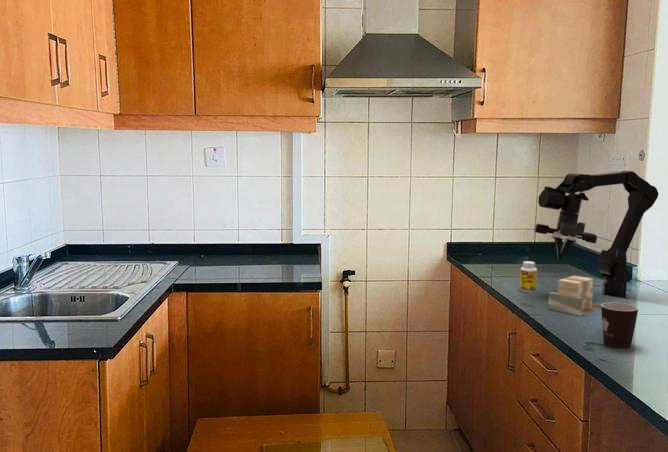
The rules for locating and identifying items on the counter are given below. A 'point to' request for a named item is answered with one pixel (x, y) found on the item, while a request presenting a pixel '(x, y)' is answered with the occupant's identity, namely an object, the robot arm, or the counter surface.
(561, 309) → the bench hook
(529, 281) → the supplement bottle
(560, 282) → the block
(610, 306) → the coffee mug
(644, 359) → the counter surface
